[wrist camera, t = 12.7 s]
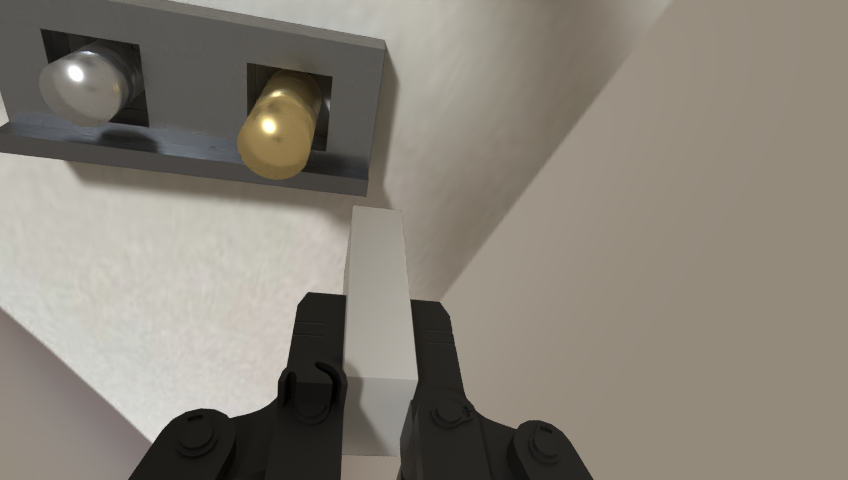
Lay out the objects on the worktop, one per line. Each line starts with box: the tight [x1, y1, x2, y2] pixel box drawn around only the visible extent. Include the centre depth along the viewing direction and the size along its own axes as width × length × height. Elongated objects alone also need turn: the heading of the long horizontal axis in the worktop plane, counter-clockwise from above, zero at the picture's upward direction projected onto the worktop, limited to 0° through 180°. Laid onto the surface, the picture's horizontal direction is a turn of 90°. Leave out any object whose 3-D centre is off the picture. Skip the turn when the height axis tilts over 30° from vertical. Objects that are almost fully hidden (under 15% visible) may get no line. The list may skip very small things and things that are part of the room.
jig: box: [0, 0, 385, 197], centre depth 36 cm, size 11×26×5 cm, turn 79°
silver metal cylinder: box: [39, 38, 145, 127], centre depth 34 cm, size 4×4×6 cm
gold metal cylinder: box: [237, 69, 322, 180], centre depth 35 cm, size 4×4×10 cm
